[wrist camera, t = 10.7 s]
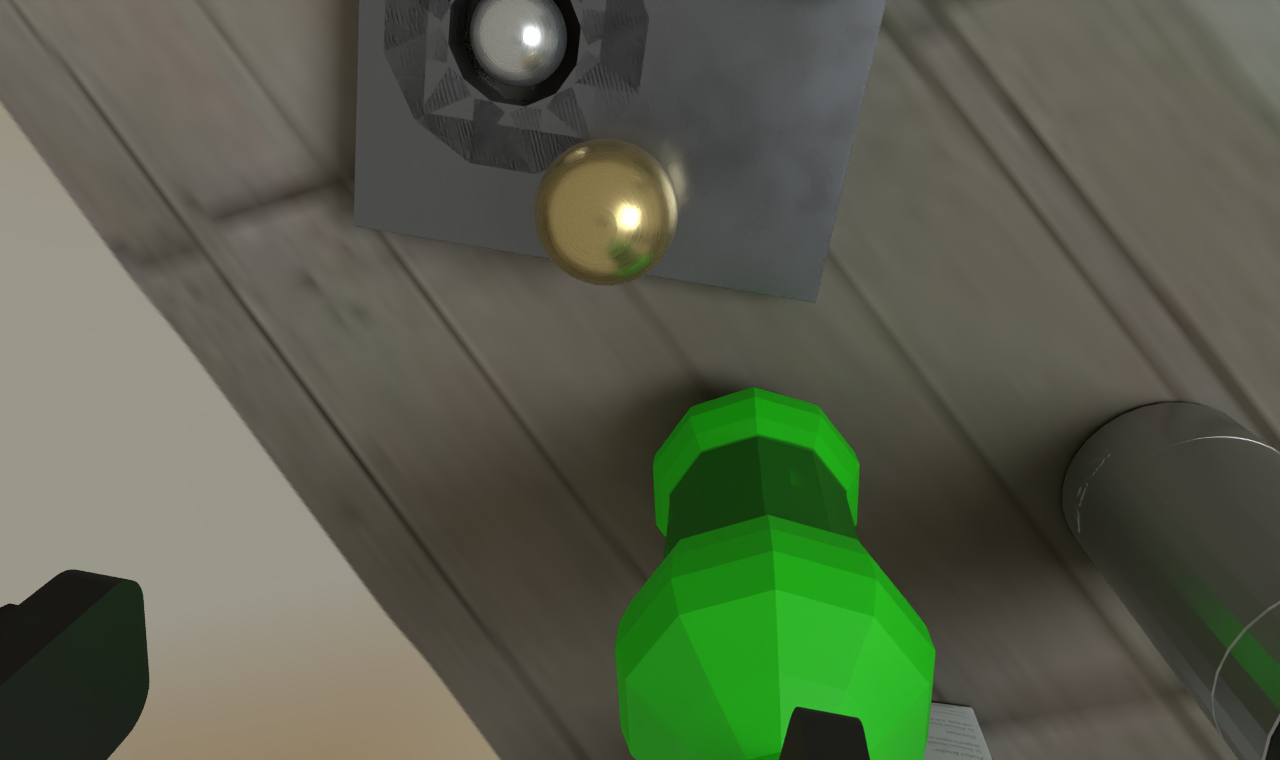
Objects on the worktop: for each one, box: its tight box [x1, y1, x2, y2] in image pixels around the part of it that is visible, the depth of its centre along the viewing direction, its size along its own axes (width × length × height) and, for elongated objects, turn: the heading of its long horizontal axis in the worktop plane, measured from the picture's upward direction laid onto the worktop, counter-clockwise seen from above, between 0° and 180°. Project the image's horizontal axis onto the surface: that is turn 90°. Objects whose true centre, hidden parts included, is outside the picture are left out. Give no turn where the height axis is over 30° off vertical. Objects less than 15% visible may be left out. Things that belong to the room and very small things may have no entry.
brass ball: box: [534, 138, 678, 285], centre depth 35 cm, size 6×6×6 cm
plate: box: [354, 0, 886, 303], centre depth 36 cm, size 21×18×2 cm
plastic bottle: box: [615, 387, 936, 760], centre depth 32 cm, size 10×10×25 cm
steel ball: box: [470, 0, 567, 87], centre depth 36 cm, size 4×4×4 cm
